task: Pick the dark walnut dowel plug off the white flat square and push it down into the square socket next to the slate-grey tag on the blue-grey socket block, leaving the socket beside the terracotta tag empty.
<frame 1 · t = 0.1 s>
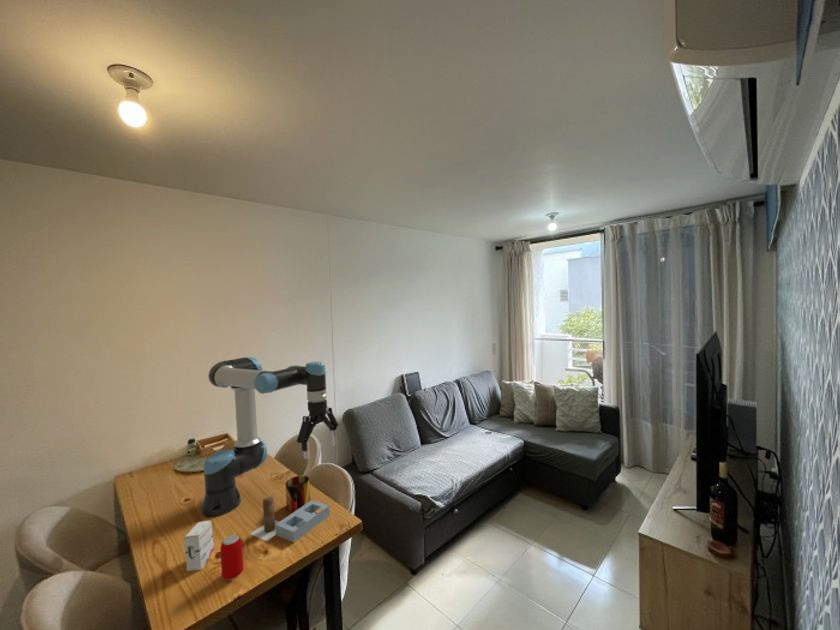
hand: (319, 451, 137), 28 cm above the table, fingers open, 13 cm apart
white flat square: (269, 532, 131), on the table
beverage can: (233, 575, 110), on the table
plug: (269, 529, 131), point 1 cm above the table, touching white flat square
ink box: (200, 562, 117), on the table
mug: (300, 510, 145), on the table
socket block: (304, 527, 133), on the table
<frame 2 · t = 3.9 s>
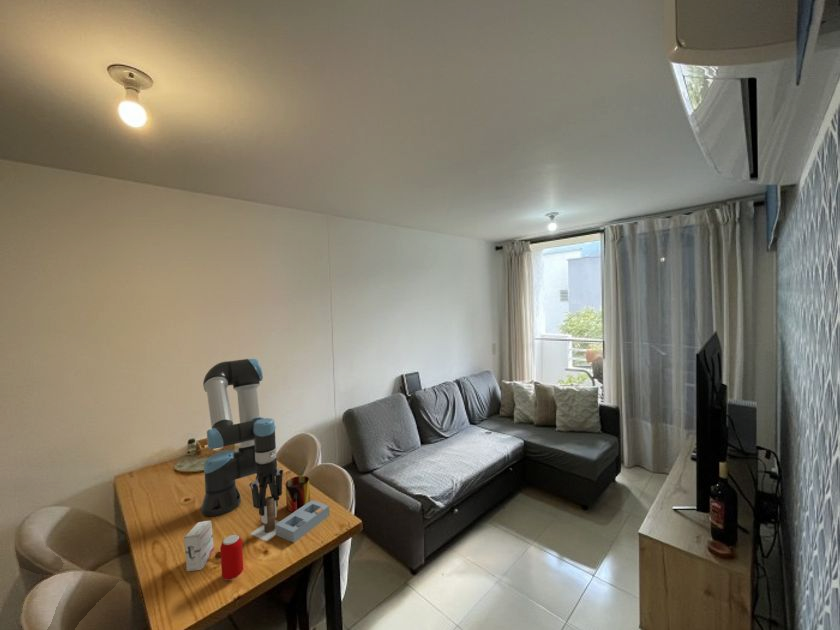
hand: (269, 519, 131), 5 cm above the table, fingers closed on plug, 3 cm apart
plug: (269, 529, 131), point 1 cm above the table, touching gripper
everything else where it was.
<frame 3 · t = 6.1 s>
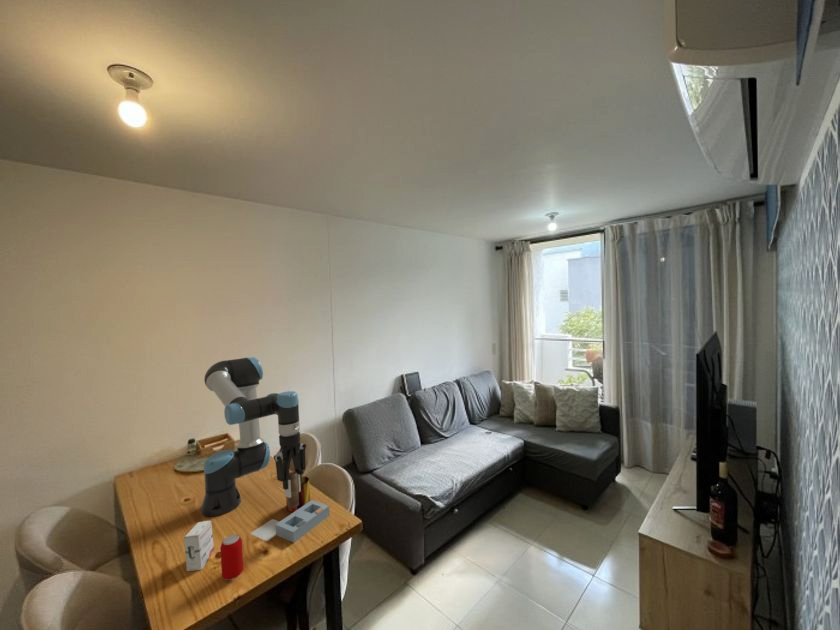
hand: (293, 493, 128), 16 cm above the table, fingers closed on plug, 4 cm apart
plug: (293, 505, 129), point 11 cm above the table, touching gripper
everything else where it was.
when the fingers open (6 cm above the table, at t = 8.7 s): plug drops 2 cm, resting in socket block.
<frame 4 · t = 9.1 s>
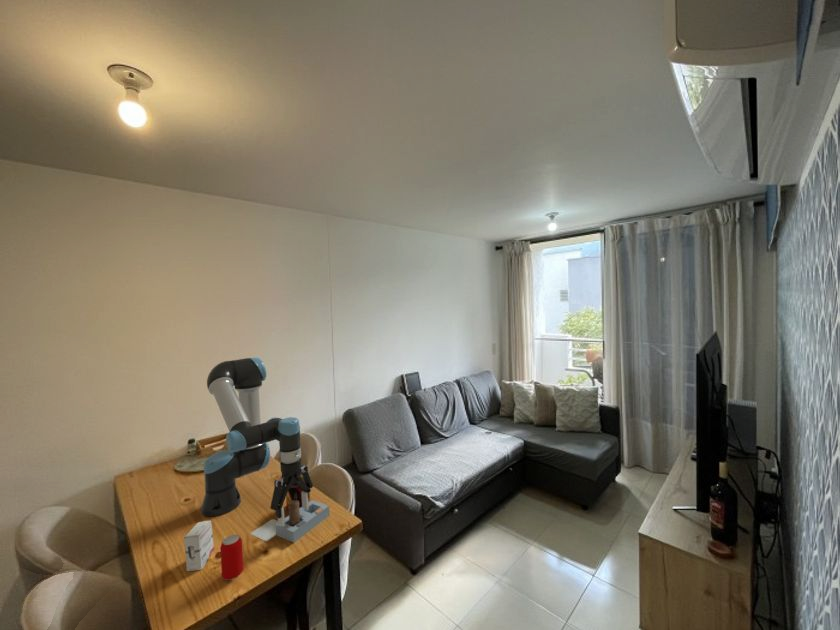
hand: (293, 516, 129), 7 cm above the table, fingers open, 10 cm apart
plug: (295, 533, 129), resting in socket block
everything else where it was.
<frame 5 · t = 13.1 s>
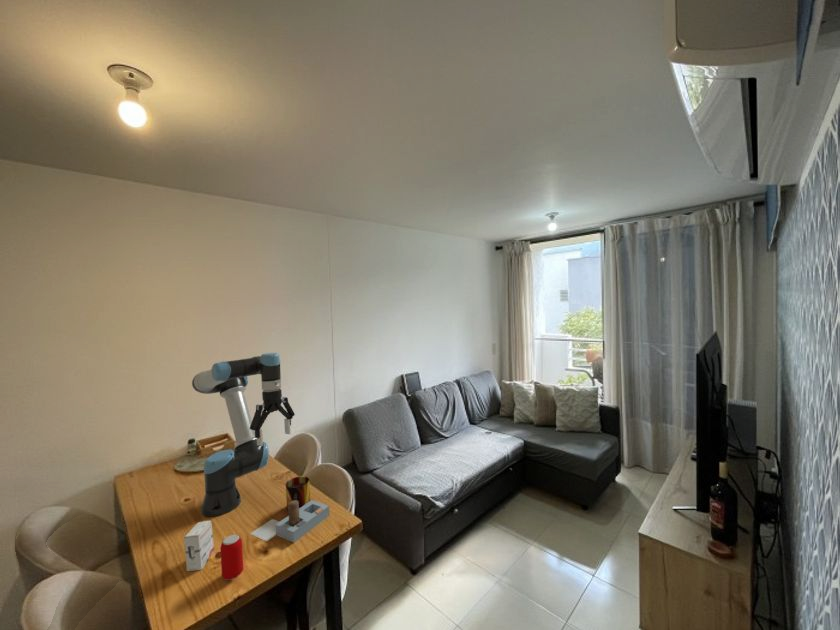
hand: (274, 439, 143), 32 cm above the table, fingers open, 13 cm apart
nothing on the table moved.
at the end: plug 0.1 cm from the target spot on the socket block, point 0.0 cm above the socket block's base; plug tilted 0°; the gripper is holding nothing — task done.
